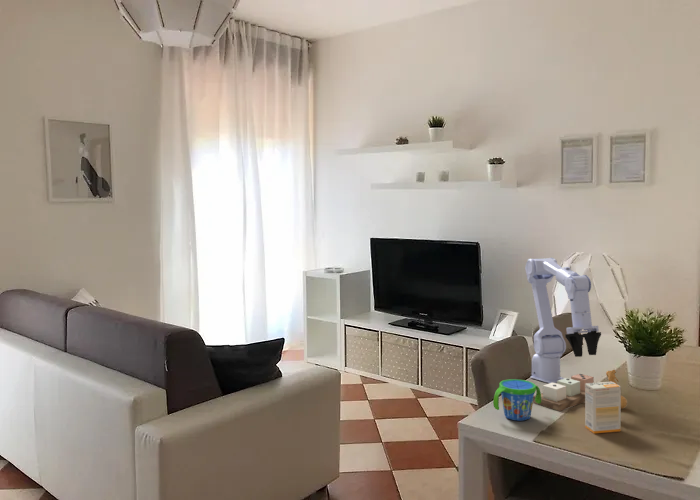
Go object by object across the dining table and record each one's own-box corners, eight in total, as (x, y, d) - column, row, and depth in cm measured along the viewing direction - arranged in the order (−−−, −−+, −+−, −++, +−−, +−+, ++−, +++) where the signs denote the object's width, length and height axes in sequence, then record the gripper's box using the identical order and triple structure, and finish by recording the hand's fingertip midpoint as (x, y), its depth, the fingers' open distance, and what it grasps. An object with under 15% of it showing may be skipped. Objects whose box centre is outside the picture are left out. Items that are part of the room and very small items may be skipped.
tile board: (559, 411, 178) (559, 404, 178) (532, 402, 186) (532, 396, 186) (603, 394, 192) (603, 388, 192) (576, 387, 200) (576, 381, 200)
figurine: (624, 413, 175) (625, 374, 174) (603, 410, 178) (603, 372, 177) (628, 405, 182) (629, 367, 181) (608, 402, 185) (608, 365, 184)
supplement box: (611, 425, 166) (611, 380, 165) (621, 432, 162) (621, 386, 160) (584, 427, 165) (584, 382, 164) (593, 434, 161) (593, 388, 159)
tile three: (584, 391, 190) (584, 379, 189) (571, 388, 194) (571, 375, 194) (593, 388, 193) (593, 376, 192) (579, 385, 197) (580, 373, 196)
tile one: (556, 401, 181) (556, 388, 181) (542, 397, 185) (542, 384, 185) (566, 398, 184) (566, 385, 184) (552, 394, 188) (552, 381, 188)
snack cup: (531, 408, 181) (531, 376, 180) (550, 420, 171) (550, 386, 170) (485, 413, 178) (485, 381, 177) (502, 426, 167) (502, 392, 167)
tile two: (570, 396, 185) (570, 383, 185) (557, 392, 190) (557, 380, 189) (580, 393, 188) (580, 380, 188) (566, 389, 192) (566, 377, 192)
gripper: (578, 312, 179) (583, 357, 177) (605, 311, 187) (610, 354, 185) (558, 314, 185) (563, 357, 183) (585, 312, 193) (590, 354, 191)
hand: (585, 355), depth 184 cm, fingers open, 7 cm apart
